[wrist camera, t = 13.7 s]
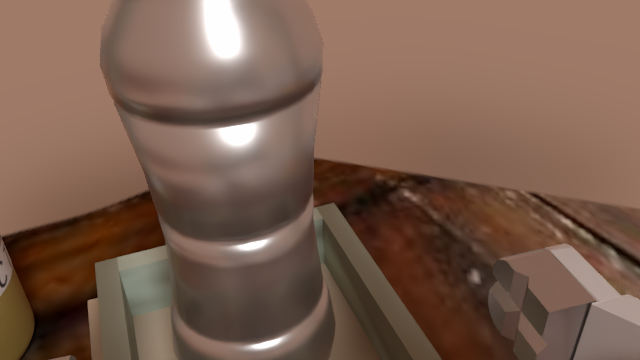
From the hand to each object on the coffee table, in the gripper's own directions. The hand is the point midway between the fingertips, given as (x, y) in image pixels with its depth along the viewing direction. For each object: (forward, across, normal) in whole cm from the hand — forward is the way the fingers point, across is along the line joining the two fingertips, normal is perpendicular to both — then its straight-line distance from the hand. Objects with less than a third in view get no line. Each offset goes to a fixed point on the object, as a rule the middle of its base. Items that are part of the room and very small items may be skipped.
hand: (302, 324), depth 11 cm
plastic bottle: (+9, 0, +13) cm, 16 cm away
